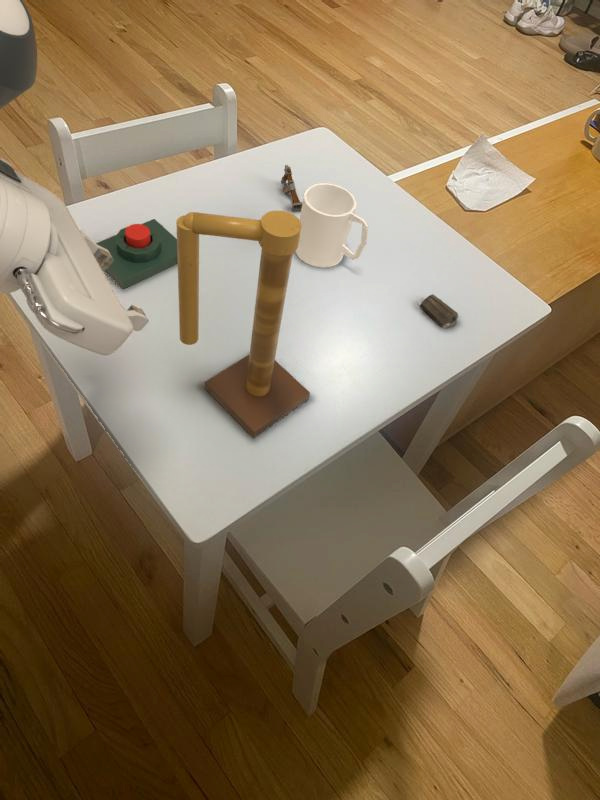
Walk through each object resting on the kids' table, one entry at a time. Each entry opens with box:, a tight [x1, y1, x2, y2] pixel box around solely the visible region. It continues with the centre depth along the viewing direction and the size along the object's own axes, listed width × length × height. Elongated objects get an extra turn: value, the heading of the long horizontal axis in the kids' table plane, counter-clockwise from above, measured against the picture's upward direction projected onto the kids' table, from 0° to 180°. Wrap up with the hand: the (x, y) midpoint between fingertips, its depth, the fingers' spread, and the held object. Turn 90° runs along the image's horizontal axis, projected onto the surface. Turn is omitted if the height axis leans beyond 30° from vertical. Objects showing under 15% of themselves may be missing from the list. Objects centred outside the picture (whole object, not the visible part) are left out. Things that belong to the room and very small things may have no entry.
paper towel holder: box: [204, 248, 311, 439], centre depth 71 cm, size 10×10×26 cm
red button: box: [125, 223, 151, 248], centre depth 90 cm, size 4×4×2 cm
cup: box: [295, 182, 369, 268], centre depth 95 cm, size 8×12×10 cm
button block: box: [95, 218, 178, 290], centre depth 92 cm, size 12×9×4 cm
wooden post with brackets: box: [280, 164, 303, 211], centre depth 106 cm, size 2×8×4 cm, turn 21°
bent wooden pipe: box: [175, 210, 301, 346], centre depth 65 cm, size 12×4×18 cm, turn 90°
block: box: [419, 293, 459, 329], centre depth 94 cm, size 4×6×2 cm, turn 46°
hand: (124, 290), depth 62 cm, fingers open, 8 cm apart
